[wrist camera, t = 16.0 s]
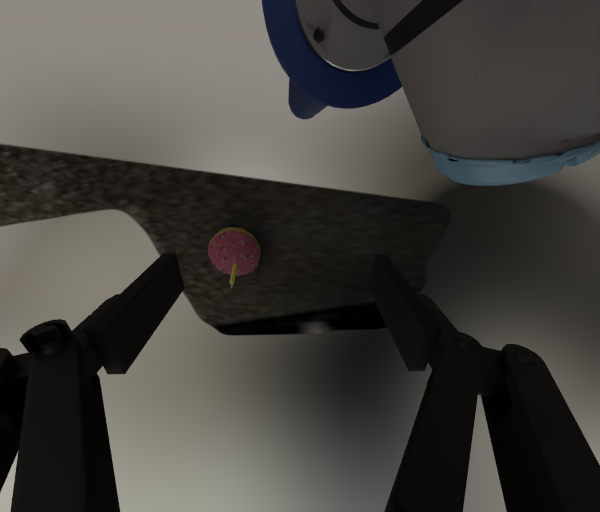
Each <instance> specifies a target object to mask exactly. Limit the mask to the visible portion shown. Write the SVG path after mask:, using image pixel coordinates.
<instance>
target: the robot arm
mask: <svg viewBox="0 0 600 512" xmlns="http://www.w3.org/2000/svg"><path fill="white" fill-rule="evenodd" d="M295 8H296V14H297V18H298V22H299V26H300V29H301V31H302V34H303V36H304V38H305V40H306V42H307V44H308V46H309V47H310V49H311V50H312V52H313V53H314V54H315V55H316V56H317V57H318V58H319V59H320V60H321V61H322V62H323V63H324V64H326V65H327V66H329V67H330V68H332V69H334V70H337V71H340V72H344V73H362V72H366V71H369V70H371V69H374V68H376V67H377V66H379V65H381V64H382V63H384V62H385V61H386V60H388V59H389V58H390V57H391V59H392V62H393V64H394V67H395V69H396V72H397V74H398V77H399V79H400V82H401V84H402V87H403V89H404V92H405V94H406V97H407V99H408V102H409V104H410V107H411V109H412V112H413V114H414V117H415V119H416V122H417V124H418V127H419V129H420V132H421V134H422V135H421V140H422V142H423V145H424V146H425V148H426V149H428V150H429V151H430V154H431V155H432V158H433V160H434V162H435V164H436V166H437V168H438V170H439V171H440V172H441V173H442V174H443V175H445V176H447V177H448V178H449V179H452V180H453V181H456V182H459V183H463V184H468V185H478V186H495V185H506V184H514V183H520V182H525V181H531V180H534V179H539V178H542V177H546V176H550V175H553V174H556V173H559V172H560V171H561V170H562V168H563V166H575V165H579V164H581V163H583V162H585V161H587V160H589V159H591V158H593V157H594V156H596V155H597V154H599V153H600V0H295ZM402 46H403V47H402ZM183 290H184V284H183V280H182V276H181V273H180V269H179V265H178V261H177V257H176V253H163V254H162V255H161V256H160V257H159V258H158V259H157V260H156V261H155V262H154V263H153V264H152V265H151V266H150V267H148V268H147V269H146V270H145V271H144V272H143V273H142V274H141V275H140V276H139V277H138V278H137V279H136V280H135V281H134V282H133V283H131V284H130V285H129V286H128V287H127V288H126V289H125V290H124V291H123V292H122V293H121V294H117V295H114V296H113V297H111V298H109V299H107V300H106V301H105V302H104V303H102V304H101V305H100V306H99V307H98V309H96V310H95V311H94V312H93V313H92V314H91V315H89V316H88V317H87V318H86V319H85V320H84V321H83V322H81V323H80V324H79V325H78V326H77V327H76V328H75V329H74V330H73V331H71V329H70V328H69V326H68V324H67V323H66V321H65V320H61V319H60V320H51V321H47V322H44V323H42V324H39V325H37V326H35V327H33V328H31V329H30V330H28V331H27V332H26V333H24V334H23V335H22V337H21V338H20V341H21V343H22V344H23V345H24V346H25V348H26V349H27V351H28V352H29V353H25V354H21V355H16V356H13V355H12V354H11V353H10V352H9V351H8V350H7V349H4V348H0V492H1V489H2V487H3V485H4V482H5V480H6V478H7V475H8V473H9V471H10V468H11V466H12V464H13V462H14V459H15V457H16V454H17V452H18V459H17V466H16V475H15V483H14V490H13V498H12V505H11V512H120V508H119V501H118V495H117V488H116V482H115V475H114V469H113V463H112V456H111V449H110V443H109V437H108V430H107V424H106V417H105V411H104V404H103V398H102V391H101V385H100V378H99V376H98V375H97V372H98V371H99V370H100V368H101V367H102V366H104V368H105V370H106V372H107V374H125V373H126V372H127V370H128V369H129V367H130V366H131V364H132V363H133V362H134V360H135V359H136V357H137V356H138V354H139V353H140V352H141V350H142V349H143V347H144V346H145V344H146V343H147V341H148V340H149V339H150V337H151V336H152V334H153V333H154V331H155V330H156V328H157V327H158V326H159V324H160V323H161V321H162V320H163V318H164V317H165V315H166V314H167V313H168V311H169V310H170V308H171V307H172V305H173V304H174V303H175V301H176V300H177V298H178V297H179V295H180V294H181V292H182V291H183ZM369 290H370V292H371V294H372V296H373V298H374V300H375V302H376V305H377V307H378V309H379V311H380V313H381V315H382V317H383V319H384V321H385V323H386V325H387V327H388V329H389V331H390V333H391V336H392V338H393V339H394V342H395V343H396V346H397V348H398V350H399V352H400V354H401V356H402V358H403V360H404V362H405V364H406V366H407V369H408V371H424V370H425V368H426V366H427V363H429V364H430V366H431V368H432V373H431V375H430V377H429V379H428V382H427V387H426V390H425V393H424V395H423V398H422V401H421V404H420V407H419V410H418V413H417V416H416V419H415V422H414V425H413V428H412V431H411V434H410V437H409V440H408V443H407V446H406V449H405V452H404V455H403V458H402V461H401V464H400V466H399V470H398V473H397V475H396V479H395V481H394V484H393V487H392V490H391V493H390V496H389V499H388V502H387V505H386V508H385V511H384V512H463V505H464V497H465V489H466V481H467V474H468V466H469V458H470V451H471V443H472V435H473V427H474V420H475V412H476V404H477V396H478V395H481V398H482V402H483V407H484V411H485V416H486V420H487V424H488V429H489V434H490V438H491V443H492V447H493V452H494V456H495V461H496V465H497V470H498V474H499V479H500V483H501V488H502V492H503V496H504V501H505V506H506V510H507V512H600V465H599V463H598V461H597V460H596V458H595V456H594V454H593V452H592V450H591V448H590V446H589V445H588V443H587V441H586V439H585V437H584V435H583V433H582V431H581V429H580V428H579V426H578V424H577V422H576V420H575V418H574V416H573V415H572V413H571V411H570V409H569V407H568V405H567V403H566V401H565V400H564V398H563V396H562V394H561V392H560V390H559V388H558V387H557V385H556V383H555V381H554V379H553V377H552V376H551V373H550V372H549V370H548V368H547V366H546V364H545V362H544V361H543V360H542V359H541V357H539V356H538V355H537V354H536V353H534V352H533V351H531V350H529V349H527V348H525V347H523V346H520V345H515V344H506V345H505V346H504V347H503V349H502V351H499V350H494V349H490V348H486V347H482V346H481V344H480V343H479V342H478V341H477V340H476V339H474V338H473V337H471V336H469V335H467V334H464V333H461V332H458V331H457V329H456V328H455V327H454V326H453V324H452V323H451V322H450V321H449V320H448V318H447V317H446V316H445V315H444V314H443V313H442V311H441V310H440V309H439V308H438V307H437V305H436V304H435V303H434V301H433V300H432V299H430V298H429V297H427V296H426V295H425V294H416V293H415V291H414V290H413V289H412V288H411V286H410V285H409V284H408V282H407V281H406V280H405V278H404V277H403V276H402V274H401V273H400V272H399V270H398V269H397V268H396V266H395V265H394V264H393V263H392V261H391V260H390V259H389V257H388V256H387V255H375V258H374V263H373V268H372V273H371V279H370V284H369ZM18 450H19V451H18Z"/></svg>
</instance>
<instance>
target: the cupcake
mask: <svg viewBox="0 0 600 512" xmlns="http://www.w3.org/2000/svg"><path fill="white" fill-rule="evenodd" d="M208 254H209V256H210V259H211V261H212V262H211V263H212V264H214V265H215V267H216V268H217V269H219V270H220V271H221V272H223V273H226V274H228V275H231V278H230V284H231V288H232V285H233V284H234V281H235V275H236V276H240V275H243V274H244V275H246V274H248V273H249V272H251V271H254V269H255V268H256V267H257V265H258V261H259V258H260V246H259V244H258V242H257V241H256V239H255V237H254V236H253V235H252V234H251V233H249V232H247V231H246V230H244V229H243V228H235V227H228V228H225V229H223V230H221V231H220V232H218V233H217V234H216V235H215V236H214V237H213V238H212V239H211V241H210V243H209V246H208Z"/></svg>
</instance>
